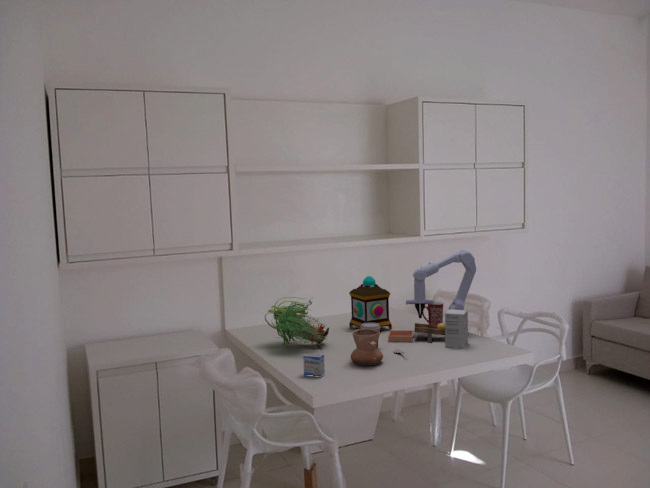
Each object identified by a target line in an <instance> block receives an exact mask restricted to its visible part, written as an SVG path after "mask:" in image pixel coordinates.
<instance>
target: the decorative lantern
mask: <svg viewBox="0 0 650 488" xmlns="http://www.w3.org/2000/svg"><path fill="white" fill-rule="evenodd" d="M348 294H349V296H350V300H351V301H350V303H351V304H350V305H351V306H350V307H351V319H350V321H349V325H348V326H349V329H353V327H354V326H355V327H356V328H358V329H361V325H362V324H364V323H378V324H379V325H380V328H383V327H388V331H390V330H392V328H393V326H392V325H393V324H392V322H391V320H390V307H389V305H390V304H389V303H390V302H389V298H390V295H391V292H389V290H387V289H386V288H385V289H384V288H382V287H380V286H379V284H377V283H376V279H374V277H372V276H371V275H367V276H365V278H363V281H362V284H360V285H359V286H358V287H356V288H353V289H352V290H350V291H349V293H348Z"/></svg>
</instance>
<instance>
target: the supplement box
mask: <svg viewBox="0 0 650 488" xmlns="http://www.w3.org/2000/svg"><path fill="white" fill-rule="evenodd" d="M468 312H469V311H468V310H466V309H465V310H453V309H449V308H448V310H447V311H446V312H445V313H444V325H445V336H444V337H445V338H444V343H445V348H452V349H454V348H455V349H463V350H464V349H465V348H466V347H467V346H468V345H469V327H468V326H469V316H468V315H469V313H468Z"/></svg>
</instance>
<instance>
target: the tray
mask: <svg viewBox="0 0 650 488" xmlns="http://www.w3.org/2000/svg"><path fill="white" fill-rule="evenodd" d="M387 338H388V343H413V342H414V330H400V329H399V330H396V329H395V330H394V329H393V330H392V329H391V330H389V332H388V337H387Z"/></svg>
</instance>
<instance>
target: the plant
mask: <svg viewBox="0 0 650 488" xmlns="http://www.w3.org/2000/svg"><path fill="white" fill-rule="evenodd" d="M283 299H299V300H300V299H301V300H306V297H305V298H303V297H299V296H298V297H296V296H289V297H287V296H286V297H281V298H279V299H277V301H276V302H275V303H274V305H271V307H270V308H271V309H268V310H267V312H266V313H265V314H264V320H265V322H266V323H267V325H268V326H269V327H270V328H272V329H274V330H276V332H277V333H276V334H278V336H279V337H278V336H277V337H275V338H277V339H279V338H280V339H283V343H282V345H283V346H285V347H284V348H285V349H287V347H288V345H289V344H290V342H292V341H294V342H295V343H296V345H299V344H300V345H302V343H303V344H304V345H308V347H310V349H312V350H313V349H314V350H316V349H317V346H318V345H319V347H320V346H322V347H323V345H322V343H324V342H325V340H326V341H327V337H328V335H329V331H330V327H327V326H328V324H326V325H325V323H322V322H319V320H318V318H316V317H315V316H312V315H311V314H309V311H312V312H313V310H311V309H310V308H309V306H311V305H312V303H313V302H312V301H311V299H313V297H311V298H309V300H308V302H298V301H295V300H284V301H282V302H280V303H279V304H278V302H279V301H281V300H283ZM285 303H290V304H289V305H283V304H285ZM277 304H278V305H277ZM276 305H277V306H276ZM281 305H282V306H281ZM268 314H273V315H272V316H273V317H272V319H273V320H275V321H274V322H275V324H274V323H273V321H271V323H269V321H268V320H267V318H266V316H267V315H268ZM306 318H307V319H306ZM317 323H319V324H317ZM324 329H325V330H324ZM297 339H298V341H300V342H297ZM315 344H316V346H315ZM316 351H317V352H319V351H318V350H316Z"/></svg>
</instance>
